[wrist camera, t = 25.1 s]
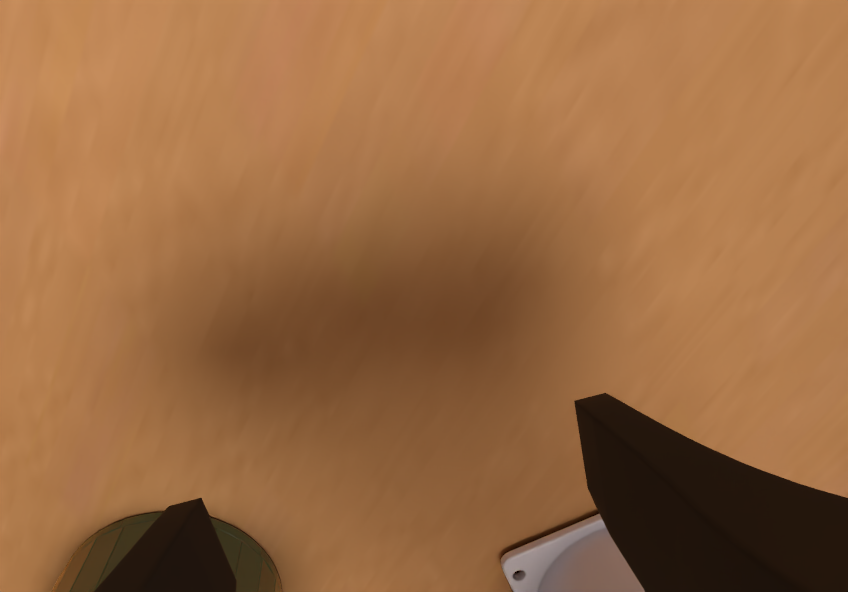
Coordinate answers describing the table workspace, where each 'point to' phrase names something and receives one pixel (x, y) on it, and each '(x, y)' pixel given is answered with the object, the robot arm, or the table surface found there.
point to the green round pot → (112, 543)
